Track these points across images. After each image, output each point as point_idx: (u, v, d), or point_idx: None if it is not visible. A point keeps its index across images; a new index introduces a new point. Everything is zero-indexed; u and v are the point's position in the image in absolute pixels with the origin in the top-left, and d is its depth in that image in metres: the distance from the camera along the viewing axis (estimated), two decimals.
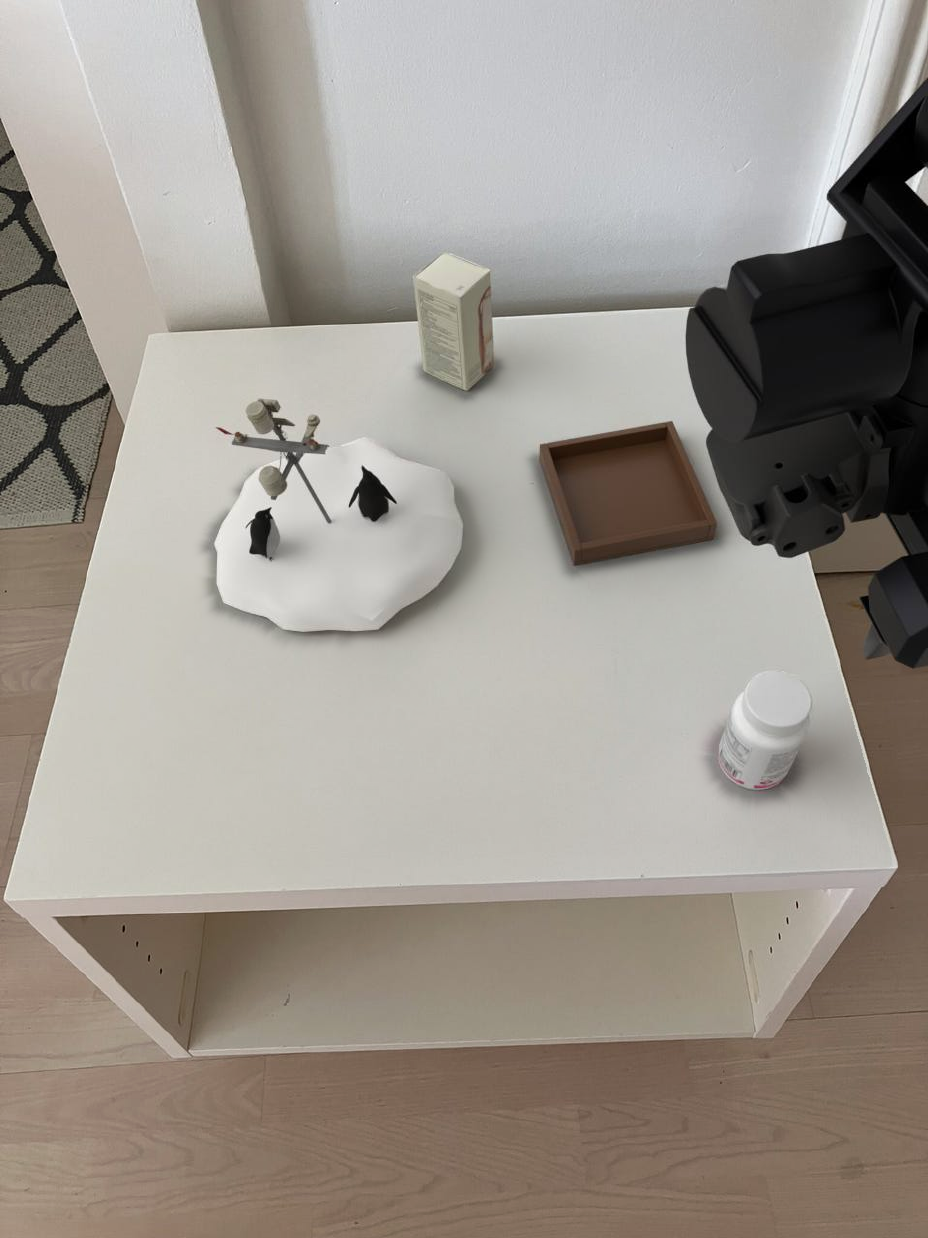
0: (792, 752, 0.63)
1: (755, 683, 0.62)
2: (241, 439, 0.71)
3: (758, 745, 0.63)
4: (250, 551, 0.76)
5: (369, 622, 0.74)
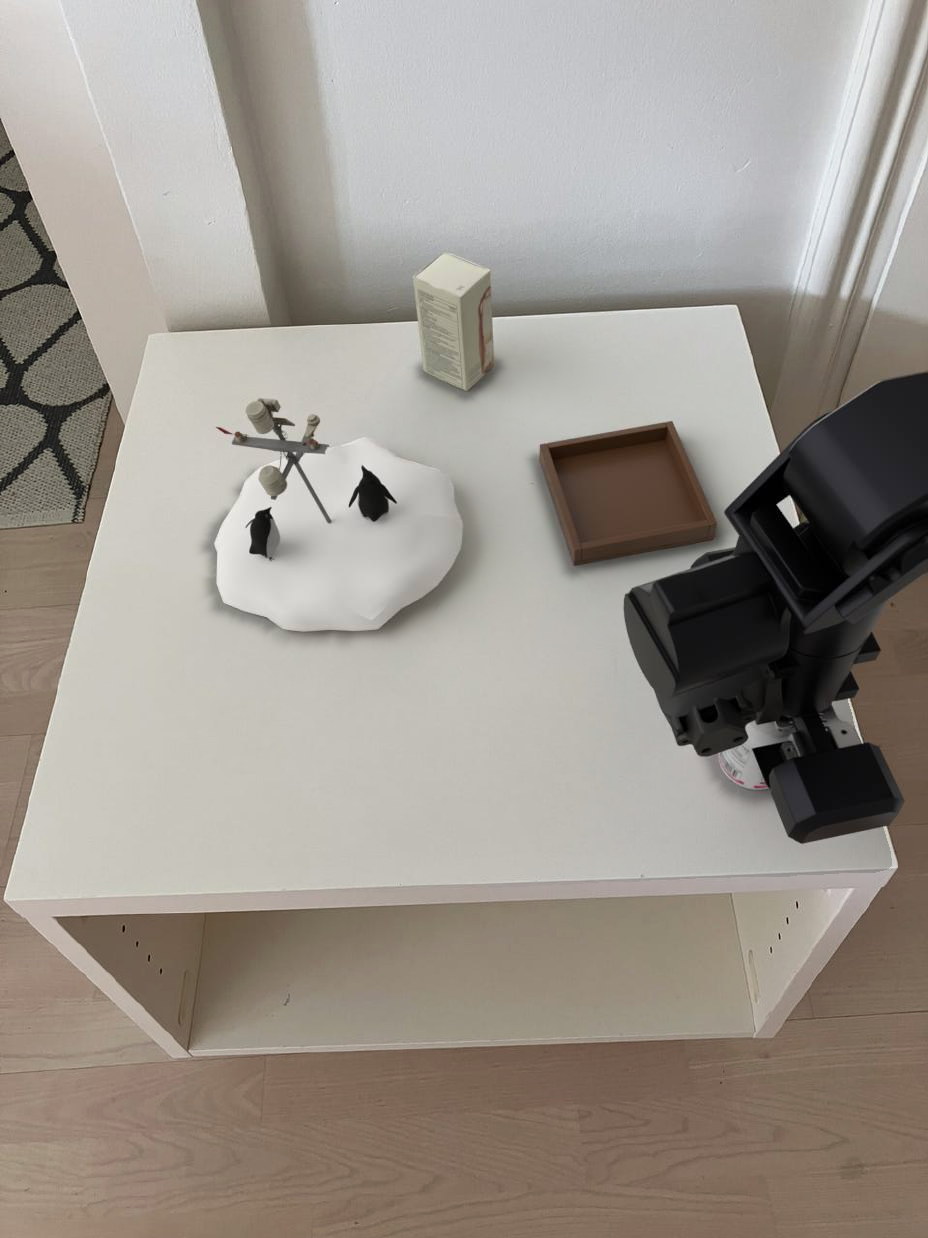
0: None
1: None
2: (241, 439, 0.71)
3: (758, 745, 0.63)
4: (250, 551, 0.76)
5: (369, 622, 0.74)
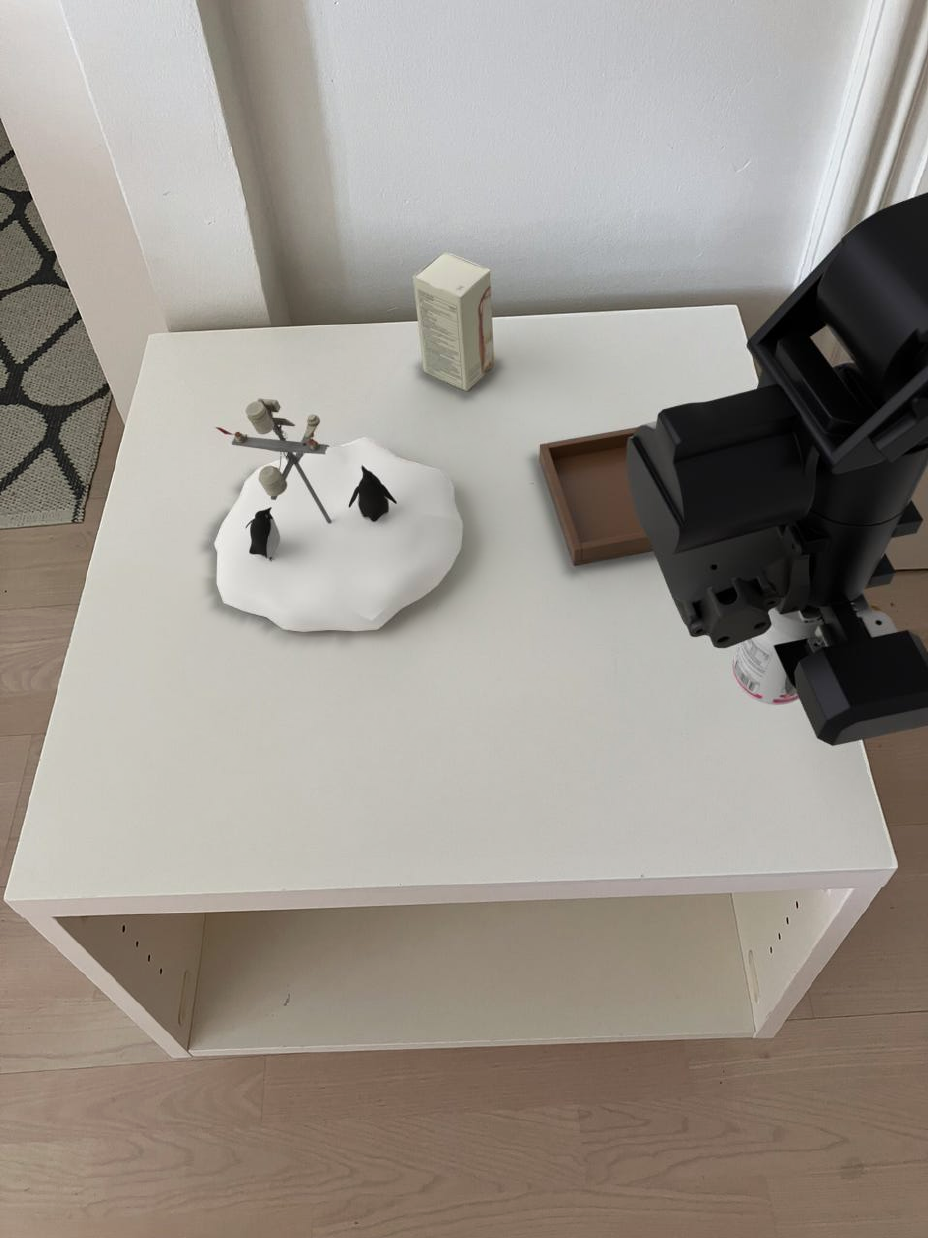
0: None
1: None
2: (241, 439, 0.71)
3: None
4: (250, 551, 0.76)
5: (369, 622, 0.74)
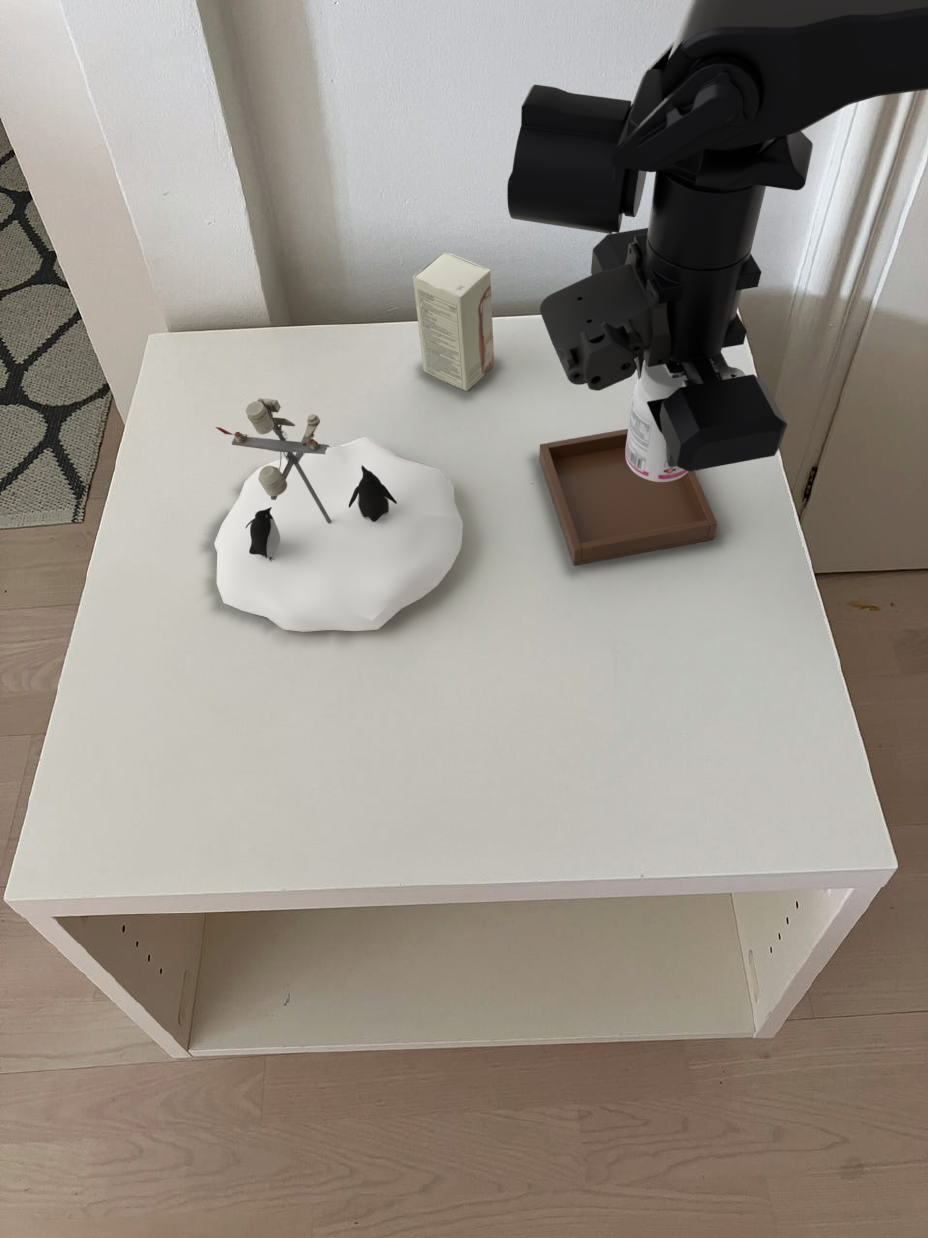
0: None
1: None
2: (241, 439, 0.71)
3: None
4: (250, 551, 0.76)
5: (369, 622, 0.74)
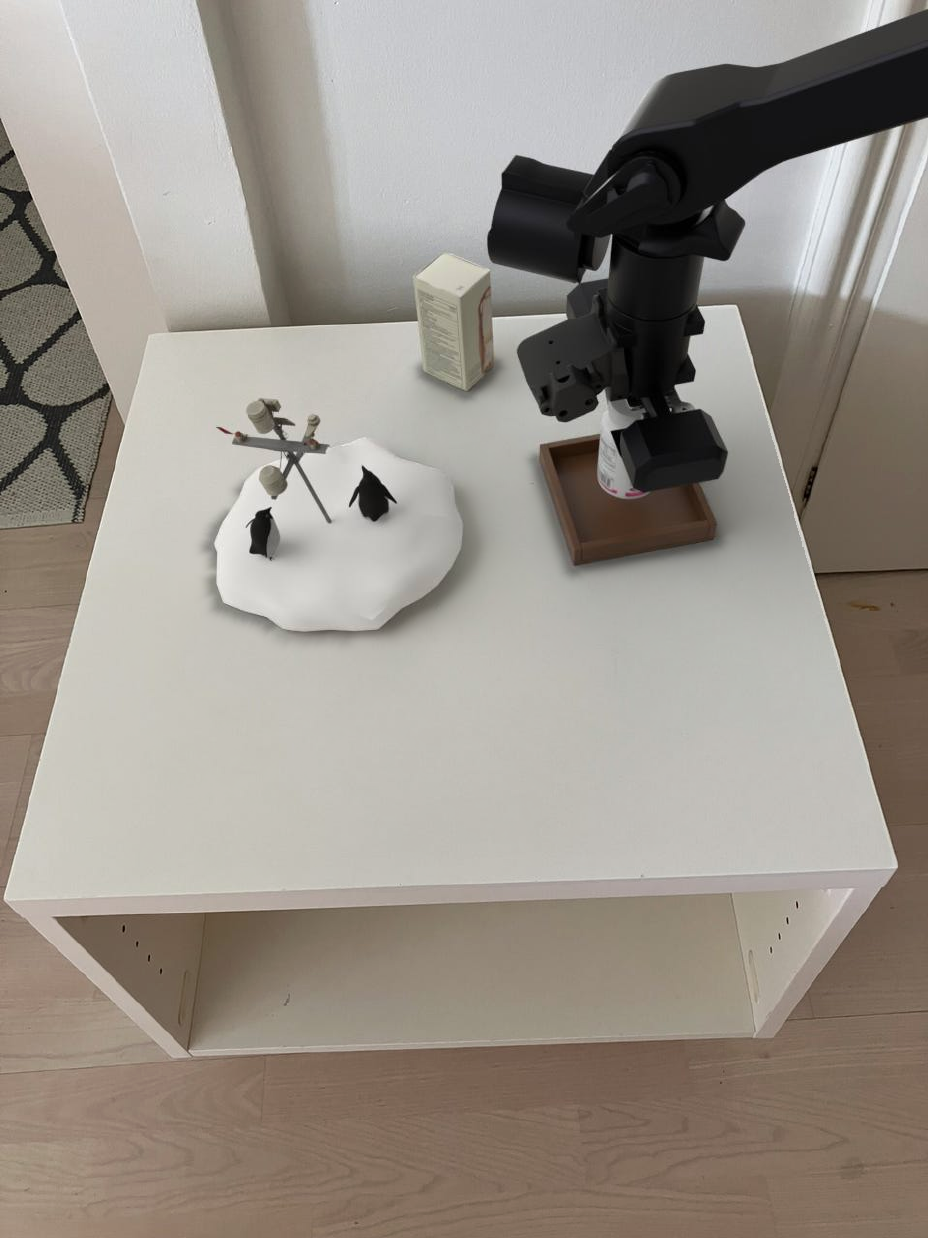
0: None
1: None
2: (241, 439, 0.71)
3: None
4: (250, 551, 0.76)
5: (369, 622, 0.74)
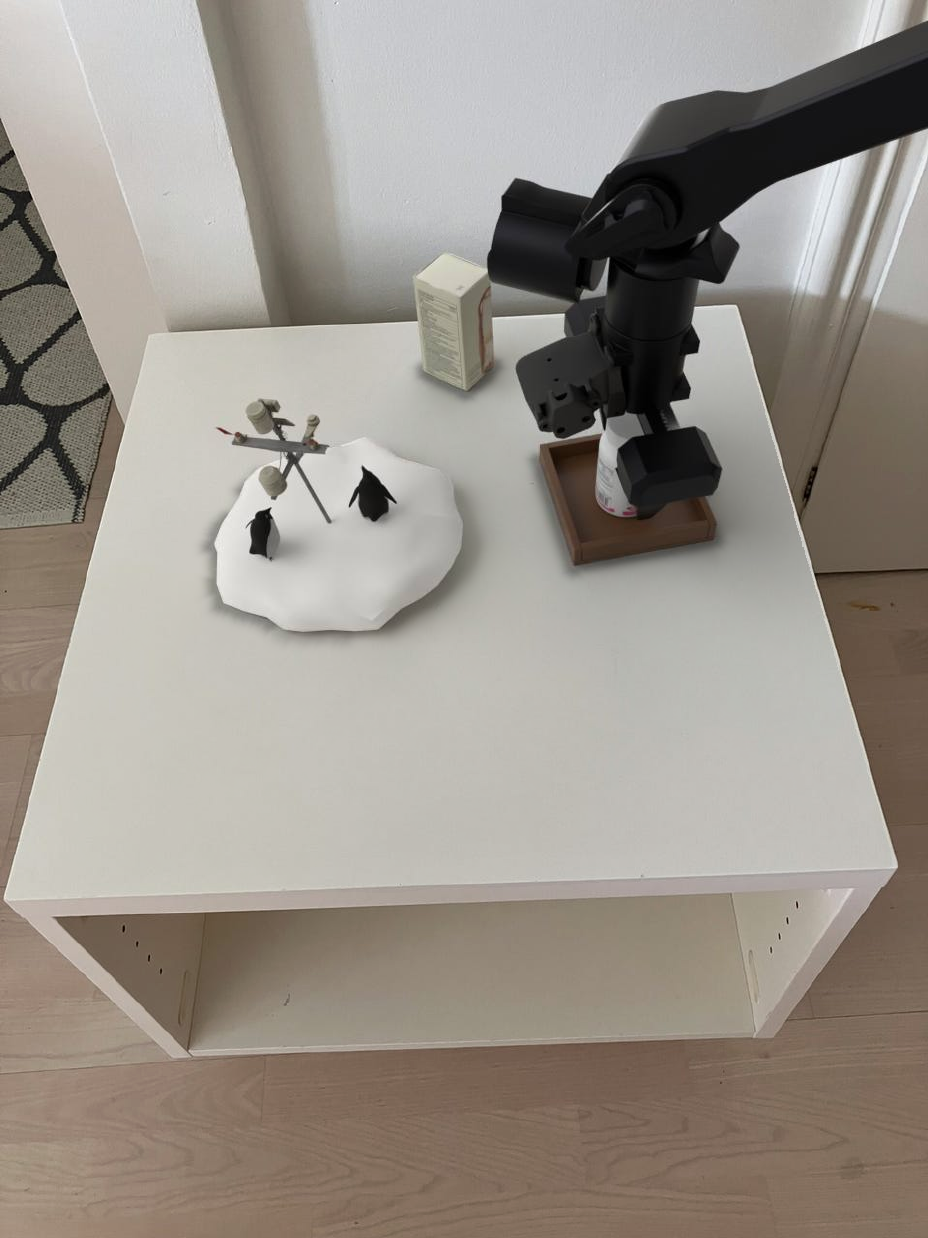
0: None
1: None
2: (241, 439, 0.71)
3: None
4: (250, 551, 0.76)
5: (369, 622, 0.74)
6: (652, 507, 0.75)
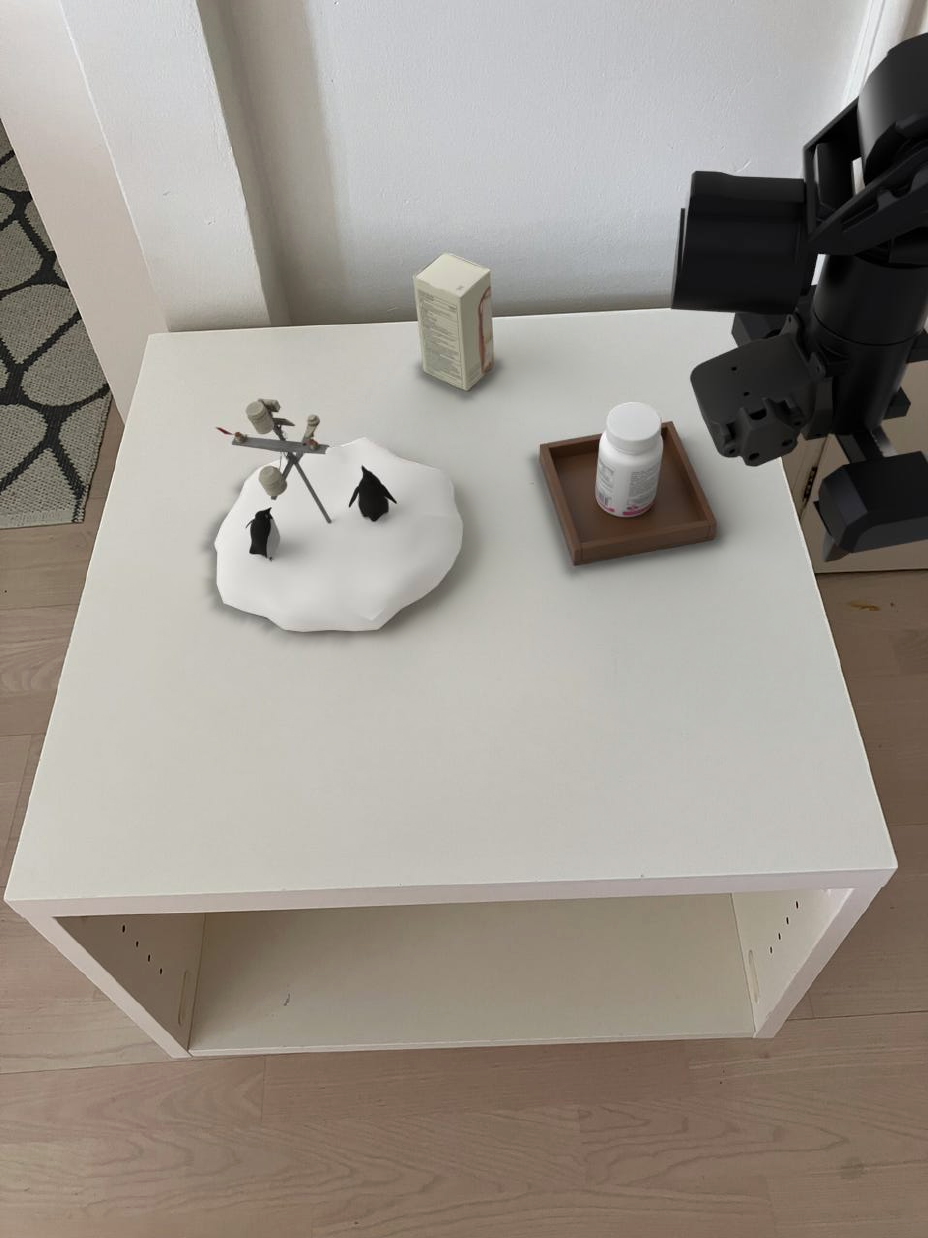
0: (648, 472, 0.76)
1: (616, 411, 0.75)
2: (241, 439, 0.71)
3: (619, 463, 0.75)
4: (250, 551, 0.76)
5: (369, 622, 0.74)
6: None
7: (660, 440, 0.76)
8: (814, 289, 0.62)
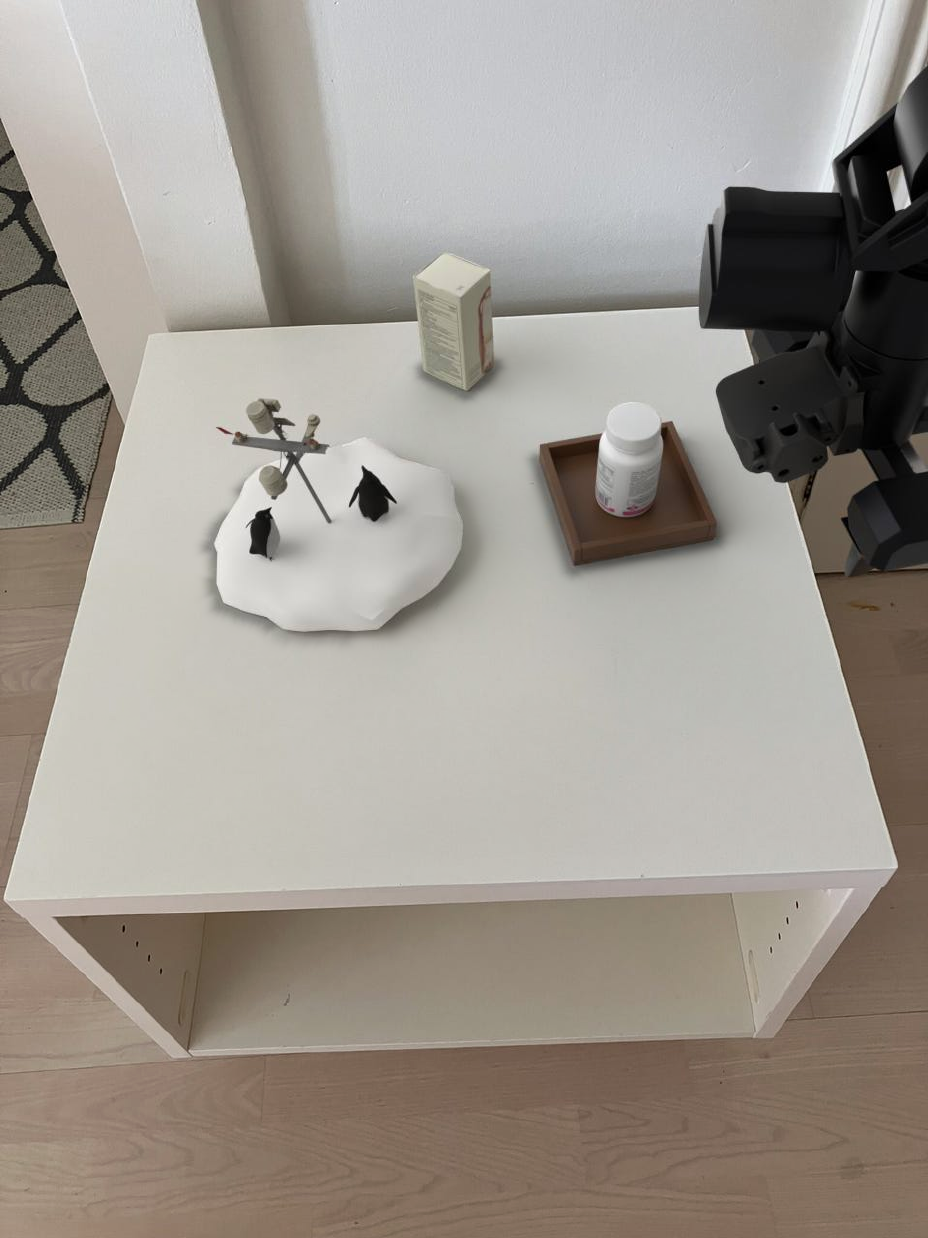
0: (648, 472, 0.76)
1: (616, 411, 0.75)
2: (241, 439, 0.71)
3: (619, 463, 0.75)
4: (250, 551, 0.76)
5: (369, 622, 0.74)
6: None
7: (660, 440, 0.76)
8: None
